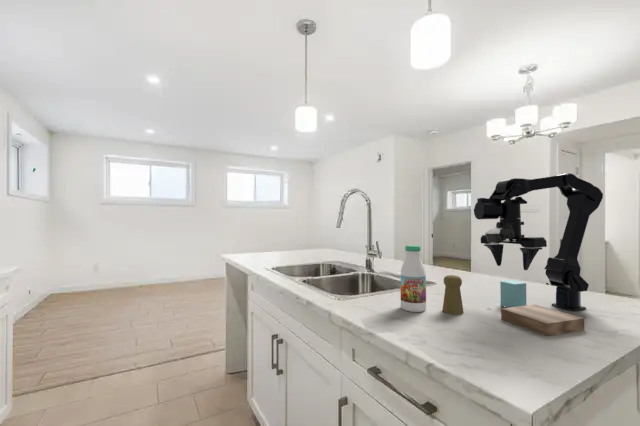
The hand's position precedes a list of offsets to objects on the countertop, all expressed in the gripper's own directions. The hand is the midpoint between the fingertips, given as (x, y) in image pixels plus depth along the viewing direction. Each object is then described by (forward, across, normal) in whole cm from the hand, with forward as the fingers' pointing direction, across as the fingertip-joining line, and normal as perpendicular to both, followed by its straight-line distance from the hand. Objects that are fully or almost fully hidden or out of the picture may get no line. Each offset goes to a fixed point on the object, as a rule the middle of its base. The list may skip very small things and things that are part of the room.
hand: (511, 267), depth 97 cm
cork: (+12, -4, -20) cm, 24 cm away
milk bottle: (+12, -10, -30) cm, 34 cm away
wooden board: (+13, +13, -6) cm, 19 cm away
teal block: (+13, -1, +2) cm, 13 cm away
